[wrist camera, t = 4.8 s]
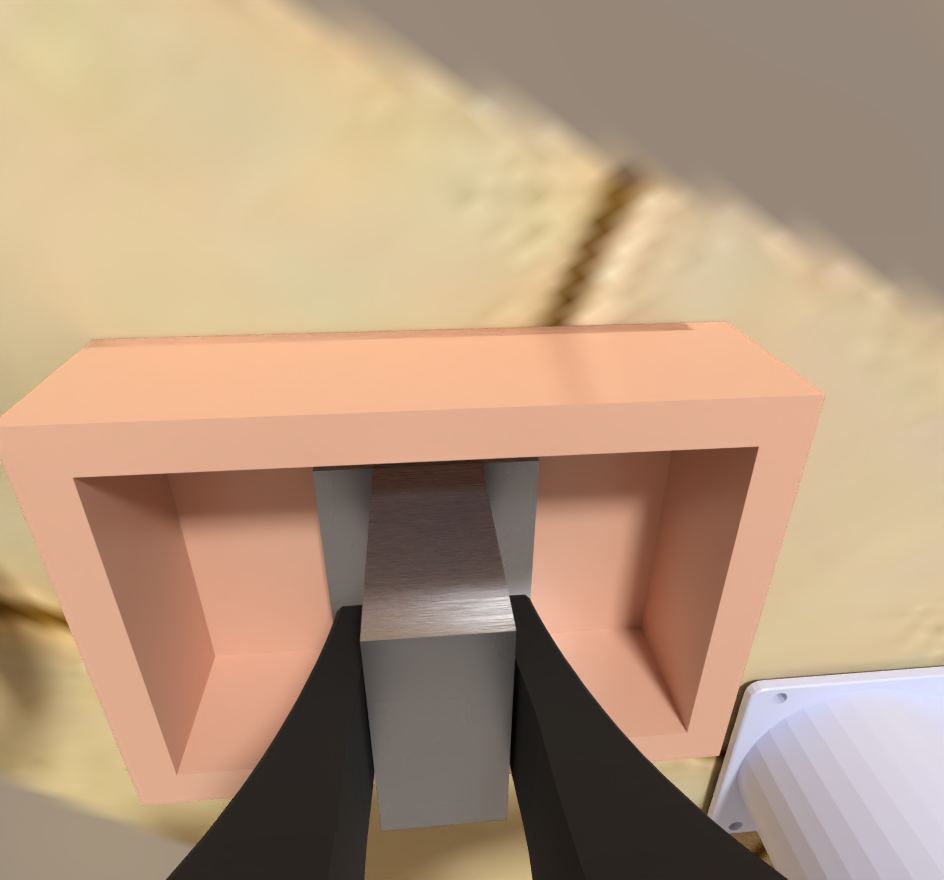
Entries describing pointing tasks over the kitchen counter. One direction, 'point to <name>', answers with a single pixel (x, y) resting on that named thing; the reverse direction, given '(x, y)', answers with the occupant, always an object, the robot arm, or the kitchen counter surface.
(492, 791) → the grey metal t-piece
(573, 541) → the salmon pink open box
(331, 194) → the kitchen counter surface
